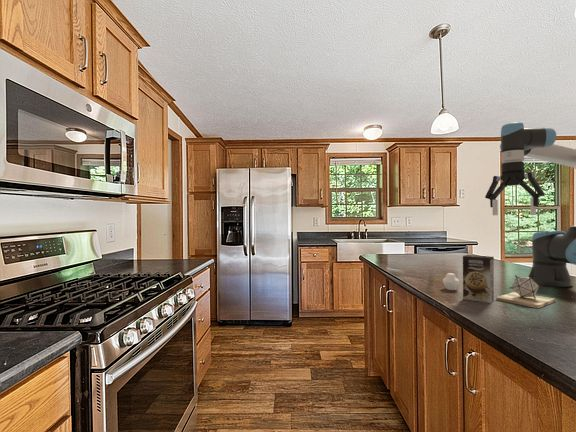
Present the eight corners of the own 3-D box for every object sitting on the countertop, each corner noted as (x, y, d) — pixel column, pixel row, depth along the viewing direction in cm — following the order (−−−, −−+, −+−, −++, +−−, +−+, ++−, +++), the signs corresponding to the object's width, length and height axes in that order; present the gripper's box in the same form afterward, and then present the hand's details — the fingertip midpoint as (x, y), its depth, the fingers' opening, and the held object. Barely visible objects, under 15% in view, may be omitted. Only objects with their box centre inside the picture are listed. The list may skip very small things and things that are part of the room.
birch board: (514, 294, 126) (514, 291, 126) (555, 301, 115) (555, 298, 115) (496, 300, 119) (496, 297, 119) (538, 308, 108) (538, 305, 108)
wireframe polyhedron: (526, 306, 119) (535, 283, 121) (541, 304, 111) (550, 279, 113) (501, 293, 121) (510, 270, 124) (514, 290, 113) (524, 266, 116)
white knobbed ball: (441, 289, 136) (440, 273, 136) (445, 287, 141) (445, 270, 141) (457, 291, 132) (457, 274, 132) (461, 289, 137) (460, 272, 137)
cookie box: (462, 299, 120) (461, 256, 120) (467, 296, 125) (466, 254, 125) (490, 303, 114) (490, 257, 114) (494, 299, 119) (494, 255, 119)
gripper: (475, 166, 139) (476, 215, 139) (546, 156, 118) (547, 215, 118) (484, 167, 143) (485, 215, 143) (554, 158, 122) (555, 214, 122)
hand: (513, 215), depth 130 cm, fingers open, 13 cm apart
